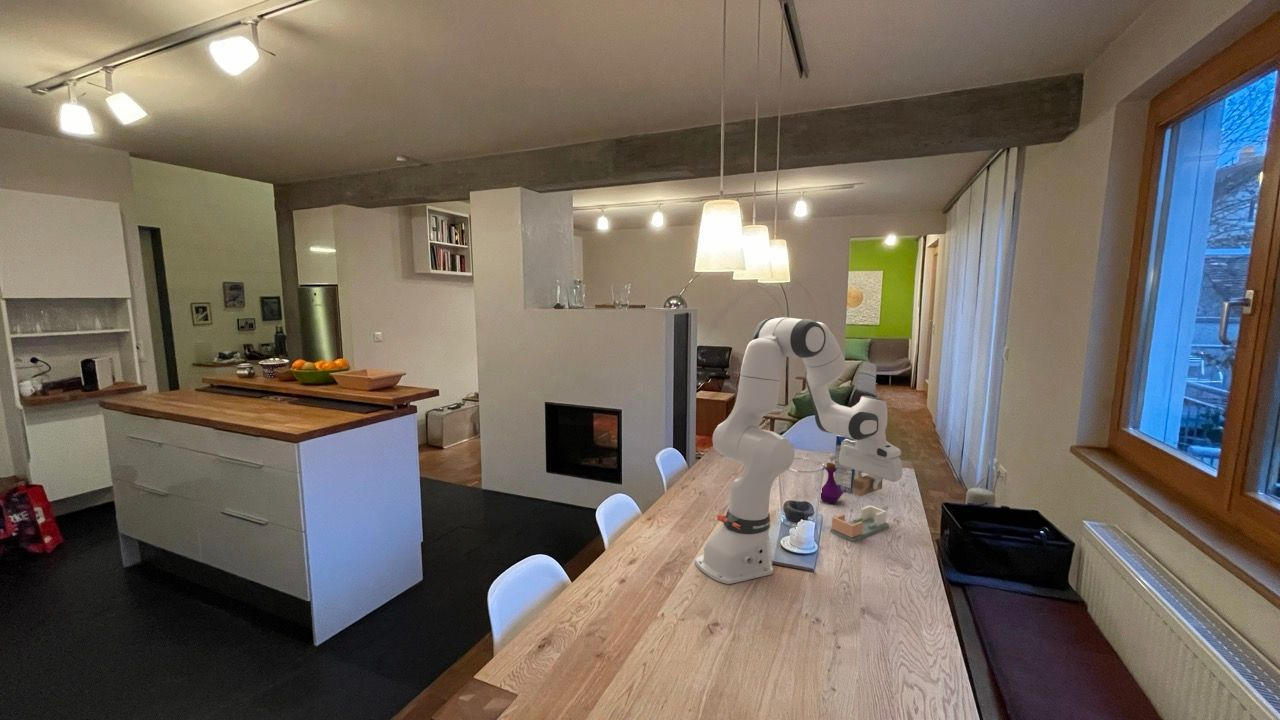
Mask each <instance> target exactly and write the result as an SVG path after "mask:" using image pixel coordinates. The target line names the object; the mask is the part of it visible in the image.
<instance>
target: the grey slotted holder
mask: <svg viewBox="0 0 1280 720" xmlns="http://www.w3.org/2000/svg"><path fill="white" fill-rule="evenodd" d="M860 521H862V522H863V530H862V534H859V535H857V536H854V537H850V536H847V535H845V534H843V533H841V532H838V531H836V530H834V529H832V528H830V533H831V534H834V535H837V536H839V537H841V538H843V539H846V540H848V541H850V542H852V543H854V542H856V541H858V540H861V539H863V538H866V537H868V536H871V535H873V534H875V533H877V532H880V531H882V530H885V529H886V528H890V525H889V524H890V523H887V522H886V521H887V510H884V509H882V508H878V507H876V506H873V505H870V504H869V505H867V506H864V507H862V508H860V516H859V517H857V518H854V519H853V520H850V521H848V523H850V524H855V523H857V522H860Z"/></svg>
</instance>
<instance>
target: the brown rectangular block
mask: <svg viewBox="0 0 1280 720" xmlns="http://www.w3.org/2000/svg"><path fill="white" fill-rule="evenodd" d="M875 480H876V479H874V476H873V475H870V474H867V475H864V476H863V475H862V477H860V478H857V479H854V480H853V487H852V493H851V494H854V495H857V496H859V497H862V496H865V495H868V494H872V493H873V492H877V491H879V490H882V489H883V480H884V479H881V480H880V482H879V483H878V487H877V489H873V488H870V486H871V485H870V483H872V482H874V481H875Z"/></svg>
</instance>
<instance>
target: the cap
mask: <svg viewBox="0 0 1280 720" xmlns="http://www.w3.org/2000/svg"><path fill="white" fill-rule="evenodd" d="M845 517H846V514H844V513H841V514H838V515H836V516H833V517H831V529H834V530H836V531H838V532H841V533H843V534H845V535H847V536H850V537H854V536H857V535H859V534H862V530H863V522H862V521H860V522H857V523H855V524H850V523H848V522H849V521H848V522H847V521H845V520H846V518H845Z"/></svg>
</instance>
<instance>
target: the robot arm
mask: <svg viewBox="0 0 1280 720" xmlns="http://www.w3.org/2000/svg"><path fill="white" fill-rule="evenodd" d="M786 357H787V358H801V359H802V361H803V365H804V367H805V369H806V370H805V377H804V378H805V379H804V380H805V384H806V387H807V390H808V393H809V396H810V397H809V398H810V400H811V403H812V407H813V410H814V420H815V424H816V426H817V428H818V429H819V430H820V431H821V432H824V433H829V434H833V435H836V436H837V435H840V436H843V437H847V438H850V439H854V440H856V441H851V440H849V439H845V440H843V441H842V442H841V451H840V455H839V463H840V465H841V466H845V467H848V468H851V469H854V470H855V474H856V476H857V478H860V477H863V475H862V473H864V474H867V475H873V476H874V479H876V480H875V481H874V482H872V483H870V485H871V486H870V488H873V489H877V487H878V483H879V482H880V480H881V479H883V480H886V481H889V482H892V483H895V482H898V481H900V480H901V479H902V477H903V464H902V463H903V462H902V459H901V457H900V456H901V455H902V450H901V449H900V448H899V447H897V446H895V445H893V444H892V443H890V441H889V442H888V441H887V435H886V429H887V426H888V406H887V402H886V400H884V399H883V398H880V397H874V396H870V395H862V396H861V397H860V399H859V401H858V402H857V403H856V404H855V405H853V406H850V407H849V406H846V405H841V404H839V403H837V402H835V401H834V400H833V399H832V397H831V394H830V391H829V387H828V385H831V384H832V383H834V382H836V381H837V380H839V379H840V378H841V377H842V375H843V374H844V373H845V371H846V367H847V366H846V360H845V356H844V353H843V352H842V350H841V348H840V344H839V343H838V341H837V339H836V337H835V336H834V334H833V333H832V331H831V330H830V328H829V327H828V325H826V324H825V323H823V322H820V321H815V320H812V319H808V318H804V319H803V318H802V319H801V318H795V317H794V318H793V317H787V316H786V317H778V318H777V317H770V318H767V319H763V320H762V321H760V322H759V323H758V324H757V326H756V327H755V329H754V334H753V338H752V340H751V341H750V342H749V343H748V344H747V346H746V349H745V351H744V355H743V359H742V363H741V368H740V373H739V380H738V381H739V382H738V388H737V389H738V390H737V394H736V400H735V403H734V406H733V408H732V410H731V412H730V414H729V415H728V417H727V418H726V419H725V420H724V421H722V422H721V423H719V424H718V425H717V426H716V428H715V429H714V431H713V433H712V445H713V448H714V450H715V451H717V452H718V454H721V455H722V456H723V457H725V458H726V459H728V460H731V461H734V462H737V463H739V464H742V465H743V466H744V469H743V470H744V471H743V474H742V475H741V476H739V477H736V478H735V479H734V480H732V481H731V483H730V485H729V499H728V501H729V502H728V508H727V511H726V513H725V514H723V513H718V515H717V517H716V519H717V521H719V522H721V523H723V524H722V525H721V526H720V528H718V530H717V531H716V532H715V533H713V535H712V536H710V538H709V539H708V540H707V541H706V543H705V546H704V552H703V554H700V555H699V556H698V557H696V558H695V561H694V562H695V563H694V564H695V565H696V567H697V568H698V570H700V571H701V572H702V573H704V574H705V575H707V576H708V577H709V578H711V579H713V580H715V581H717V582H719V583H723V584H725V585H731V584H735V583H740V582H744V581H748V580H752V579H756V578H760V577H761V578H762V577H767V576H770V575H773V574H774V567H773V559H772V554H771V541H770V535H769V528H770V524H771V514H770V512H769V511H770V496H771V489H772V487H773V484H774V482H775V480H776V479H777V477H778V476H780V475H781V474H784V473H785V472H787V471H788V470H789V469H790V467H791V466H792V465H793V463H794V461H795V460H794V459H795V448H794V444H793V443H792V441H791V440H790V439H788V438H786V437H785V436H783V435H781V434H779V433H778V432H775V431H771V430H767V429H764V428H761V427H760V424H761V421H762V419H763V418H764V416H766V415H768V414H770V413H772V412H774V411H775V410H776V408H777V407H778V402H779V395H780V394H779V393H780V388H781V379H782V370H783V369H782V366H783V365H782V363H783V361H784V360H785V358H786Z"/></svg>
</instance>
